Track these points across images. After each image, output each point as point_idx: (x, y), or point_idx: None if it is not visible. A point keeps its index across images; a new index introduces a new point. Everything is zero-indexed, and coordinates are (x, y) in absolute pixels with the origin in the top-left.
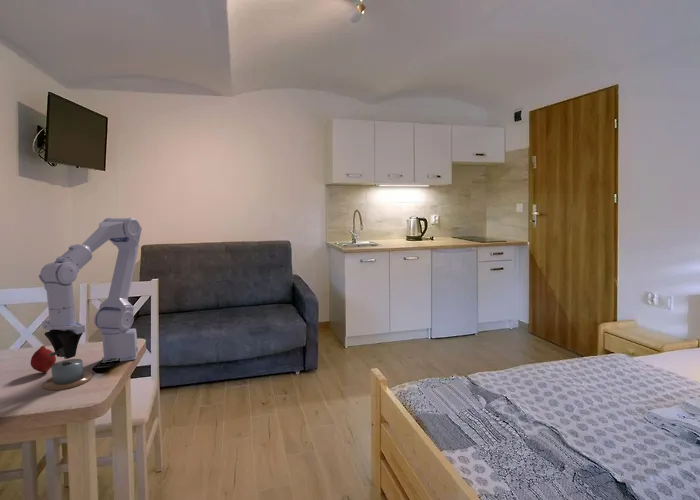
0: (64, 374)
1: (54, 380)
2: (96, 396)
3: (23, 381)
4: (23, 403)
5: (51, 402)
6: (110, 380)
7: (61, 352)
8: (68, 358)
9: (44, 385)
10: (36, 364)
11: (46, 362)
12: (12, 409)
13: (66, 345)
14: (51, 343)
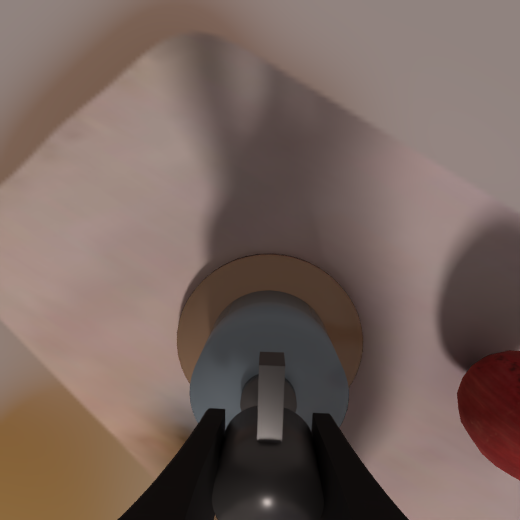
0: (218, 326)
1: (273, 296)
2: (10, 280)
3: (480, 276)
4: (230, 122)
5: (123, 175)
6: (110, 400)
7: (249, 435)
8: (206, 411)
9: (308, 266)
10: (513, 365)
11: (476, 398)
12: (213, 61)
13: (131, 508)
14: (397, 512)
